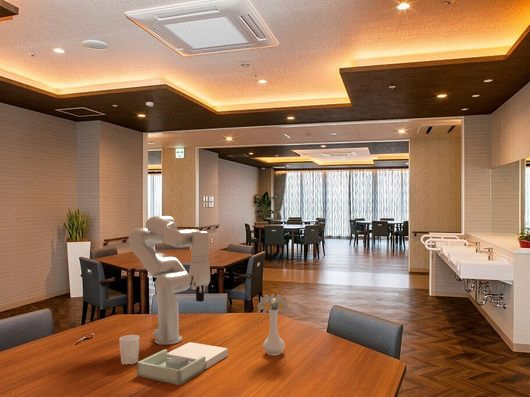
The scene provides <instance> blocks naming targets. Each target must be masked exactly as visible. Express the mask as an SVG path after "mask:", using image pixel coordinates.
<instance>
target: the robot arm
mask: <svg viewBox="0 0 530 397" xmlns="http://www.w3.org/2000/svg"><path fill="white" fill-rule="evenodd" d="M162 242H164V243H165V244H166V245H169V246H171V247H174V248H187V247H191V262H190V265H189V271H187V270H186V268H185V267H184V266H183V264H182V263H181V262H180V260H179V259H178V258H177V257H174V256H160V255H159V254H158V252H157V251H156V250H155V249H154V248H153V247H152V246H149V245H154V244H155V245H157V244H160V243H162ZM128 243H129V244H128V245H129V247H130V250H131V251H132V253H133V254H134V255H135V256H136V257H137V259H139V261H140V262H141V263H142V264H143V266H144V268H145V269H146V271H147V272H148V274H149V275H150V276H151V277H153V278H156V279H155V281H154V282H155V283H154V286H155V287H154V288H155V292H156V298H157V329H154V330H153V331H152V335H153V336H156V337H155V338H154V343H155V344H157V345H165V346H168V345H175V344H177V343H180V342H182V341H183V336H182V335H180V334H179V331H180V327H179V325H180V324H179V322H180V321H179V320H180V319H179V300H178V299H177V297H176V295H175V294H176V293H180V292H184V291H186V290H187V291H188V290H189V288H190V289H191V290H194V292H195V301H196V302H201V303H202V302H204V301H205V292H206V289H207V287H208V286H209V284H210V282H211V268H210V266H211V265H210V233H209V232H208V231H205V230H199V229H194V228H191V229H180V230H178V226H177V224H176V221H175V219H174V217H172V216H170V215H159V216H158V215H157V216H152V217H149V218H148V219H147V220H146V222H145V227H139V228H136V229H133V230H131V231H130V232H129V234H128Z"/></svg>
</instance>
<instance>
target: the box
mask: <svg viewBox="0 0 530 397" xmlns="http://www.w3.org/2000/svg"><path fill="white" fill-rule="evenodd" d="M167 353H168V349H163V350H160V351H158V352H156V353H154V354H152V355H149V356H148V357H145V358H143V359H141V360H138V362H137V363H136V365H137V366H136V375H137V377H140V376H141V377H142V378H145V377H146V378H145V379H149V378H150V380H155V381H159V382H164V383H167V384H172V385H175V386H177V385H178V386H181V385H182V384H184V383H186V382H188V381H189V380H190V379H192V378H194V377H196V376H197V375H199V374H200V373H202V372H204V371H205V370H207V369H206V356H202V357H200V358H199V359H197V360H195V361H193V362H191V361H188V365H186V366H184V367H183V368H181V369H174V368H169V367H166V362H167V361H168V360H170V359H172V358H170V357H167Z"/></svg>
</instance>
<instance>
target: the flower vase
mask: <svg viewBox="0 0 530 397" xmlns="http://www.w3.org/2000/svg"><path fill="white" fill-rule="evenodd" d="M259 301H260V302H259V303H257V308H258V310H257V315H258V314H259V313H260V312H261V311H262V310H263V311H262V315H265V314H267V313H266V312H267V311H268V313H269V320H270V321H269V334H268V335H267V338H265V340H264V341H263V344H262V346H263V349H264V351H266V354H267V355H268V356H273V357H274V356H280V355H282V352H283V350H284V349H285V347H286V345H285V342H284V341H285V340H283V339H282V338H281V337H280V335H279V331H278V312H284V314H288V310H287V309H288V303H287V300H285V299H284V296H282V295H280V293H279V294H277V295H276V297H275V293H272V294H271V295H270V296H269V295H268V294H267V293H266V294H264V295H263V297H262V296H260V300H259Z"/></svg>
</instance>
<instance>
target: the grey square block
mask: <svg viewBox="0 0 530 397" xmlns="http://www.w3.org/2000/svg"><path fill="white" fill-rule="evenodd" d="M186 365H188V359H187V358H180V357H174V358H172V359H170V360H168V361H167V362H166V367H169V368H174V369H181V368H183V367H184V366H186Z"/></svg>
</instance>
